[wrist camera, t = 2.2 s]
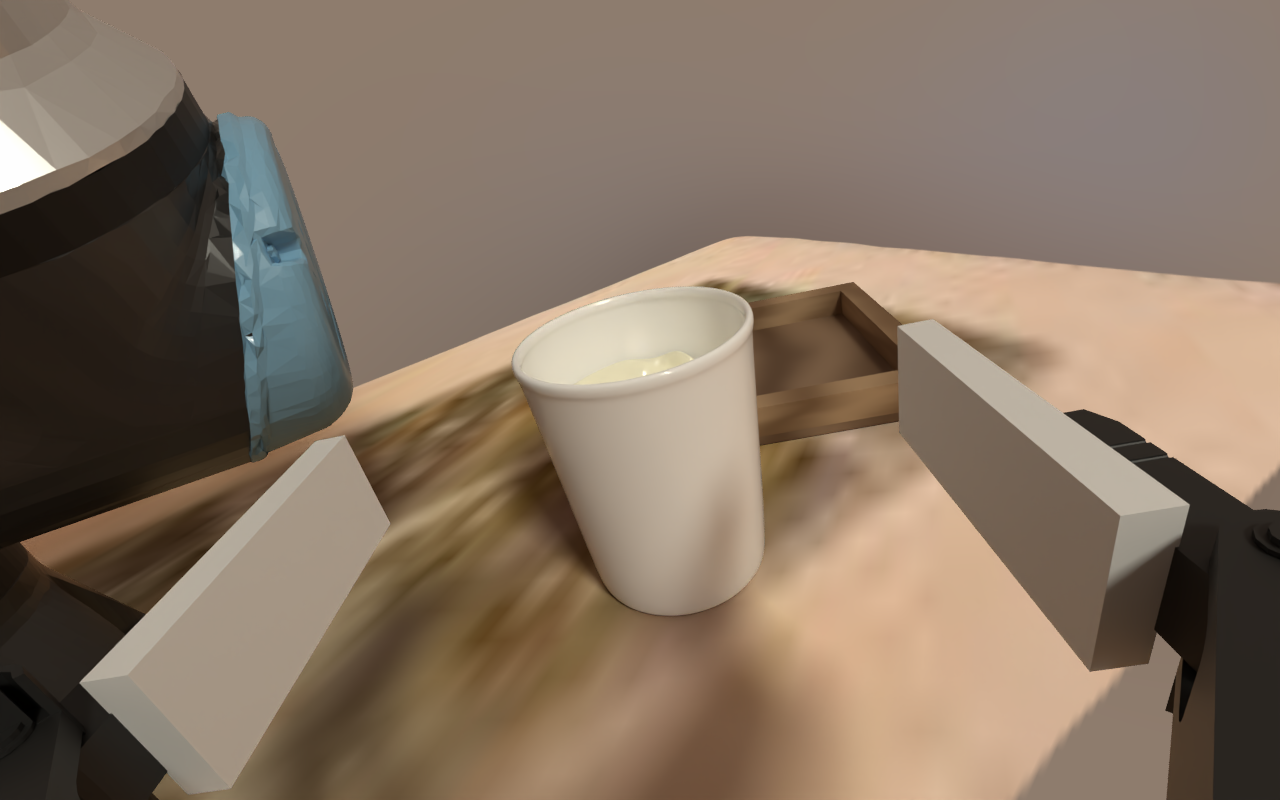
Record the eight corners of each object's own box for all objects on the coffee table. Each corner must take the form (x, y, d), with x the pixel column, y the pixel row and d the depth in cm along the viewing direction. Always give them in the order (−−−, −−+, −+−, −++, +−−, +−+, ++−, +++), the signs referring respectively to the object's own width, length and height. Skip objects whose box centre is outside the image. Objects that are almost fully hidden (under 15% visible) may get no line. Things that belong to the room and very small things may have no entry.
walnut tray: (656, 463, 36) (648, 427, 35) (650, 350, 52) (645, 323, 51) (954, 411, 34) (956, 372, 33) (854, 310, 50) (853, 282, 49)
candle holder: (678, 469, 35) (637, 278, 29) (823, 532, 28) (804, 296, 22) (547, 568, 30) (467, 358, 24) (684, 675, 23) (616, 413, 17)
